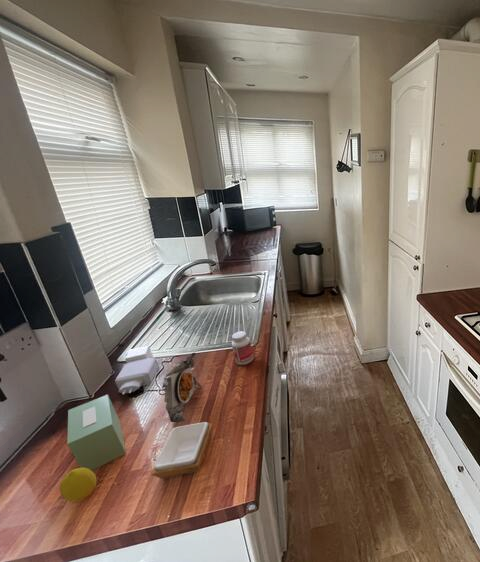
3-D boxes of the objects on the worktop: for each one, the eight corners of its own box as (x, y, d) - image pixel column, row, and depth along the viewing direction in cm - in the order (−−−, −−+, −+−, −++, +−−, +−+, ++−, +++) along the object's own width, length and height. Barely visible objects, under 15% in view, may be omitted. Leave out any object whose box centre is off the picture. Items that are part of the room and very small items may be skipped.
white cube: (130, 372, 108) (124, 358, 106) (134, 363, 113) (129, 349, 111) (150, 367, 110) (145, 353, 108) (153, 358, 115) (148, 345, 113)
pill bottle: (257, 356, 115) (251, 330, 111) (247, 366, 109) (241, 340, 105) (242, 354, 116) (236, 329, 112) (232, 364, 110) (225, 338, 106)
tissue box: (84, 474, 73) (66, 443, 69) (83, 438, 83) (67, 409, 79) (126, 453, 78) (111, 423, 74) (120, 421, 87) (107, 393, 84)
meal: (187, 421, 87) (174, 384, 82) (171, 423, 86) (157, 386, 81) (205, 385, 101) (195, 351, 96) (191, 386, 100) (180, 353, 95)
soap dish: (176, 439, 81) (171, 425, 79) (216, 432, 83) (211, 418, 81) (155, 485, 70) (148, 470, 68) (201, 476, 72) (196, 460, 70)
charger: (111, 403, 94) (129, 374, 107) (146, 395, 97) (159, 367, 110) (105, 391, 92) (124, 362, 105) (141, 383, 95) (155, 356, 108)
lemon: (64, 514, 65) (47, 489, 62) (75, 490, 69) (60, 465, 66) (96, 503, 67) (82, 478, 64) (105, 480, 71) (92, 456, 68)
